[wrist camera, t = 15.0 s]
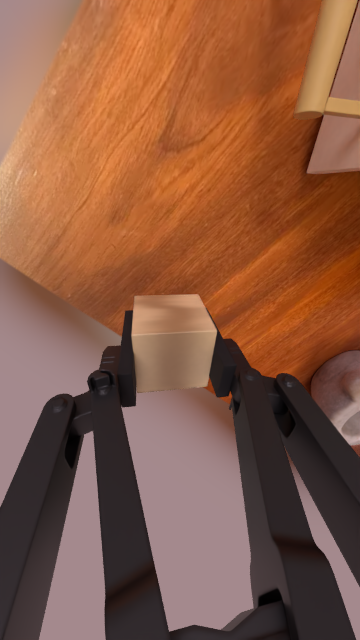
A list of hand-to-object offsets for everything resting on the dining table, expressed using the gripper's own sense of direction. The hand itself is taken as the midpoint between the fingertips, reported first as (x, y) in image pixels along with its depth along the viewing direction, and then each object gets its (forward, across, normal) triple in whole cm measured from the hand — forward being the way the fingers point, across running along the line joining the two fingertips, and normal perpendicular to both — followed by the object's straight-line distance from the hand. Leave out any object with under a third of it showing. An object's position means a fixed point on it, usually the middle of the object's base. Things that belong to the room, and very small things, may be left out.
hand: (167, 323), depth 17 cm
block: (0, 0, 0) cm, 0 cm away
